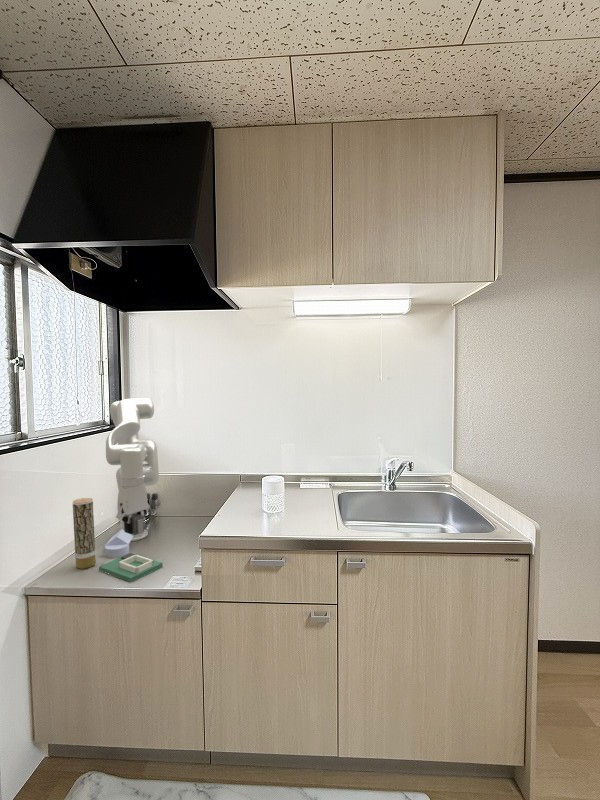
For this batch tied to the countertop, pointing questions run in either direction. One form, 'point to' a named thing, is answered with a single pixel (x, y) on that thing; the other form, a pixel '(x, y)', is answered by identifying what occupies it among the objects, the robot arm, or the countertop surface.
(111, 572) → the board
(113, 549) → the wedge on round base
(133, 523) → the plug
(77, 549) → the bark patterned cylinder
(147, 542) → the countertop surface
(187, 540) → the countertop surface
